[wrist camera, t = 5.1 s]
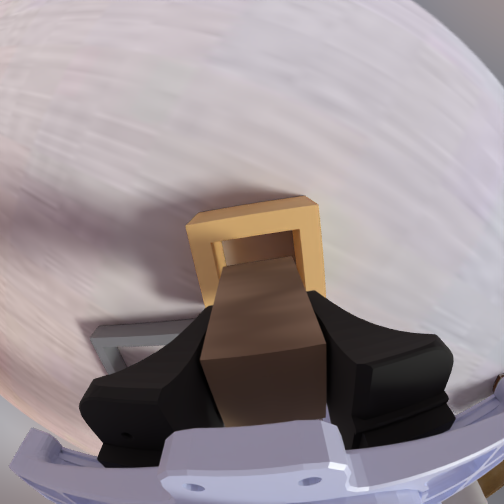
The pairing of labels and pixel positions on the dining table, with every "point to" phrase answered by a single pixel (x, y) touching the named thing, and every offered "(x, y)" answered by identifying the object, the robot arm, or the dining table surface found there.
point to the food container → (497, 381)
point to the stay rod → (264, 346)
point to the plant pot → (492, 480)
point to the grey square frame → (132, 339)
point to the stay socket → (251, 224)
